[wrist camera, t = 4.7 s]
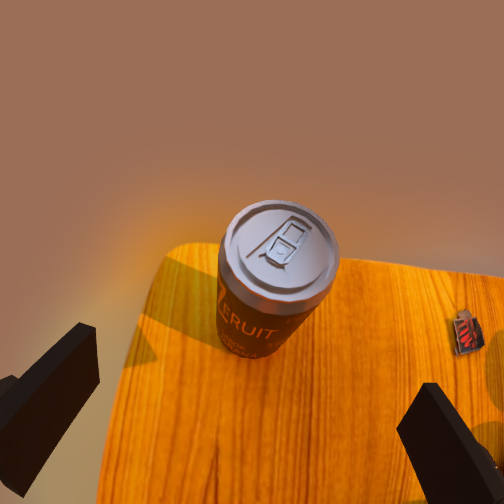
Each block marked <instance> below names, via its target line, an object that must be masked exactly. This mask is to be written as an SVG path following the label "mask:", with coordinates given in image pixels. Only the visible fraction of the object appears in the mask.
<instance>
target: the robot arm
mask: <svg viewBox="0 0 504 504" xmlns="http://www.w3.org/2000/svg"><path fill="white" fill-rule="evenodd" d="M99 383H100V379H99V369H98V358H97V344H96V328H95V327H92V326H89V325H86V324H83V323H80V322H79V323H78V324H77V325H76V326H74V327H73V328H72V329H71V330H70V331H69V332H68V333H67V334H65V336H63V337H62V338H61V339H60V340H59V341H58V342H57V343H56V344H55V345H54V346H52V347H51V348H50V349H49V350H48V351H47V352H46V353H45V354H44V355H43V356H42V357H41V358H40V359H39V360H38V361H37V362H36V363H34V364H33V365H32V366H31V367H30V368H29V369H28V370H27V371H26V372H25V373H24V374H23V375H22V376H21V377H20V378H19V379H18V378H16V377H15V376H13V375H10V376H8V377H5V378H3V379H1V380H0V480H1V482H2V483H3V484H4V485H5V486H6V487H7V488H9V489H10V490H12V491H13V492H15V493H16V494H18V495H19V496H21V497H22V498H24V496H25V494H26V493H27V491H28V489H29V488H30V486H31V484H32V483H33V481H34V480H35V478H36V476H37V475H38V473H39V472H40V470H41V469H42V467H43V465H44V464H45V462H46V461H47V459H48V458H49V456H50V455H51V453H52V452H53V450H54V449H55V447H56V446H57V444H58V442H59V441H60V439H61V438H62V436H63V435H64V433H65V432H66V431H67V429H68V428H69V426H70V425H71V423H72V422H73V420H74V419H75V417H76V416H77V414H78V413H79V411H80V410H81V408H82V407H83V406H84V404H85V403H86V401H87V400H88V398H89V397H90V396H91V394H92V393H93V391H94V390H95V388H96V387H97V385H98V384H99ZM396 429H397V432H398V434H399V436H400V438H401V440H402V443H403V445H404V447H405V450H406V452H407V454H408V456H409V459H410V461H411V463H412V466H413V468H414V470H415V473H416V475H417V478H418V480H419V482H420V485H421V487H422V490H423V492H424V495H425V497H426V500H427V502H428V504H504V476H503V474H502V473H501V471H500V469H499V468H497V465H496V463H495V461H493V458H492V457H491V455H490V454H489V452H488V450H486V449H485V448H484V447H483V446H482V445H481V444H480V443H478V442H477V441H476V439H475V438H474V436H473V434H472V433H471V431H470V430H469V428H468V427H467V425H466V424H465V422H464V421H463V420H462V418H461V417H460V415H459V414H458V412H457V411H456V409H455V408H454V406H453V405H452V404H451V402H450V401H449V399H448V398H447V396H446V395H445V394H444V392H443V391H442V389H441V388H440V387H439V385H438V384H437V383H423V385H422V387H421V388H420V390H419V392H418V394H417V395H416V397H415V399H414V401H413V402H412V404H411V406H410V407H409V409H408V411H407V412H406V414H405V416H404V417H403V419H402V420H401V422H400V423H399V425H398V427H397V428H396Z"/></svg>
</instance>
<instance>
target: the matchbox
mask: <svg viewBox="0 0 504 504" xmlns="http://www.w3.org/2000/svg"><path fill="white" fill-rule="evenodd" d="M470 315H471V313H470V312H469V310H468V311H466V309H465V310H464V311H461V312H460V313H458V317H459V316H460V317H461V318H460V319H454V324H455V329H456V333H457V339H456V341H458V344H459V351H460V354H462V355H464V354H465V353H468V354H469V353H470V352H471V353H472V352H473V351H478V350H479V349H480V348H481V347H482V346H484V345H485V344H484V341H485V340H484V338H483V334H482V330H481V327H480V325H479V323H478V321H477V319H476V317H471V316H472V315H471V316H470ZM469 316H470V318H469ZM466 317H468V318H466ZM455 352H456V356H458V350H457V349H456V348H455ZM457 359H458V358H457Z"/></svg>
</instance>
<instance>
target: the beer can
mask: <svg viewBox="0 0 504 504" xmlns="http://www.w3.org/2000/svg"><path fill="white" fill-rule="evenodd" d="M338 266H339V246H338V243H337V241H336V238H335V235H334V233H333V231H332V230H331V229H330V227H329V226H328V225H327V223H326V222H325V221H324V220H323V219H322V218H321V217H320V216H318V215H317V214H316V213H314V212H313V211H312V210H311V209H308V208H306V207H304V206H302V205H300V204H298V203H294V202H289V201H284V200H268V201H267V200H266V201H261V202H258V203H256V204H253V205H250V206H248V207H246V208H245V209H244V210H242V211H241V212H240V213H238V214H237V215H236V216H235V218H234V219H233V221H232V222H231V224H230V225H229V227H228V228H227V232H226V233H225V235H224V237H223V238H222V240H221V245H220V249H219V254H218V276H217V312H216V325H217V331H218V335H219V337H220V339H221V341H222V343H223V344H224V345H225V346H226V347H227V348H228V349H229V350H230V351H231V352H232V353H234V354H236V355H238V356H241V357H244V358H251V359H257V358H262V357H266V356H268V355H270V354H272V353H274V352H275V351H276V350H277V349H278V348H279V347H280V346H281V345H282V344H283V343H284V342H285V341H286V340H287V339H288V338H289V337H290V336H291V334H292V333H293V332H294V331H295V330H296V329H297V328H298V327H299V326H300V325H301V324H302V323H303V321H304V320H305V319H306V318H307V317H308V316H309V315H310V314H311V313H312V311H313V310H314V309H315V308H316V307H317V306H318V305H319V304H320V302H321V301H322V300H323V299H324V298H325V297H326V295H327V294H328V293H329V292H330V291H331V288H332V285H333V283H334V280H335V277H336V271H337V269H338Z"/></svg>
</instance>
